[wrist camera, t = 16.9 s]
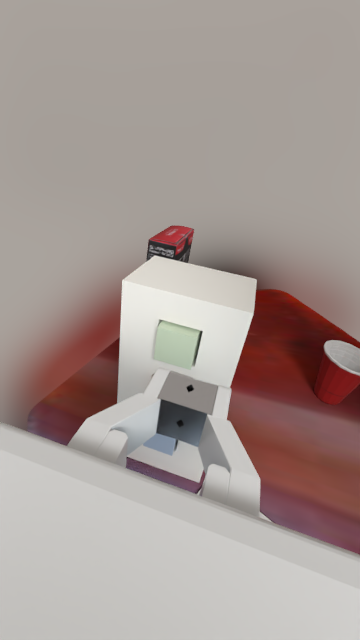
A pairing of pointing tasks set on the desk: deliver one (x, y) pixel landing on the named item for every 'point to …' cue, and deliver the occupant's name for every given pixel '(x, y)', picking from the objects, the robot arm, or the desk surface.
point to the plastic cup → (337, 372)
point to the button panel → (187, 310)
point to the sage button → (177, 344)
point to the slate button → (161, 443)
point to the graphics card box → (171, 244)
